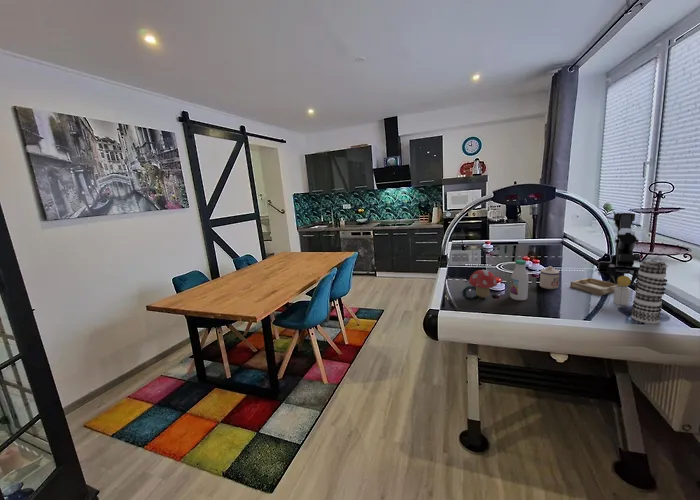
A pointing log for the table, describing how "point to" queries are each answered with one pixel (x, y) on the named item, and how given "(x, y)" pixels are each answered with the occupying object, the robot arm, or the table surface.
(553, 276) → the teacup with lid
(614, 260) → the robot arm
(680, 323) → the table surface
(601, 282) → the tray
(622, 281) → the ball
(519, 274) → the milk bottle
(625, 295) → the cup
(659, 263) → the decorative candle
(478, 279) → the decorative mushroom
